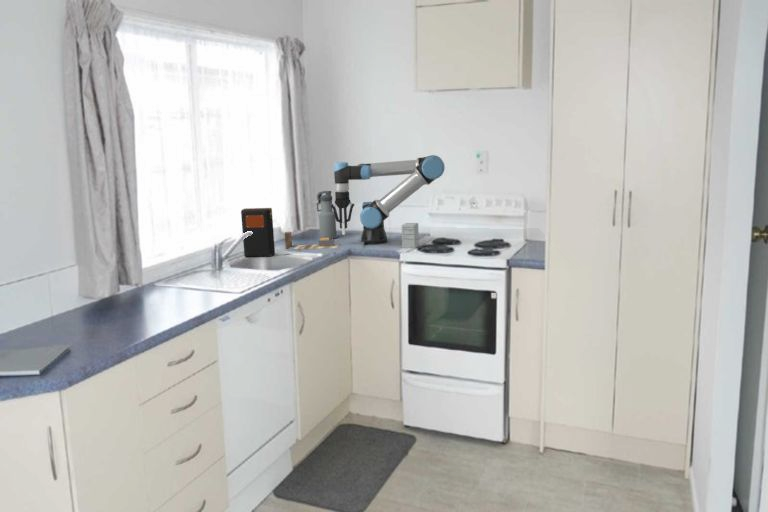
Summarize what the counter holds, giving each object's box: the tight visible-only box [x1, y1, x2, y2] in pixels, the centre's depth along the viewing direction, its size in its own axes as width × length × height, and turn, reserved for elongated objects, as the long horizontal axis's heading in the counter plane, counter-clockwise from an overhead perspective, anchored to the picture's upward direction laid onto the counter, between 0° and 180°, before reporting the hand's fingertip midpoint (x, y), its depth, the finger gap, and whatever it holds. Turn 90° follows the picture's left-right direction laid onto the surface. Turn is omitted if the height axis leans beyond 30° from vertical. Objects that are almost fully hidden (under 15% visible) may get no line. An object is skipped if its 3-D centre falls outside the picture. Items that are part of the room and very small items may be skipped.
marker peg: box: [284, 232, 293, 250], centre depth 378 cm, size 3×3×9 cm
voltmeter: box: [240, 207, 276, 258], centre depth 359 cm, size 16×9×25 cm, turn 84°
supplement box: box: [401, 222, 420, 249], centre depth 369 cm, size 7×7×13 cm
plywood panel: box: [293, 243, 341, 250], centre depth 375 cm, size 24×12×1 cm, turn 86°
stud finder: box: [318, 237, 336, 246], centre depth 377 cm, size 8×4×4 cm, turn 86°
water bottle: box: [316, 190, 337, 239], centre depth 406 cm, size 10×10×28 cm
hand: (343, 234), depth 376 cm, fingers closed
